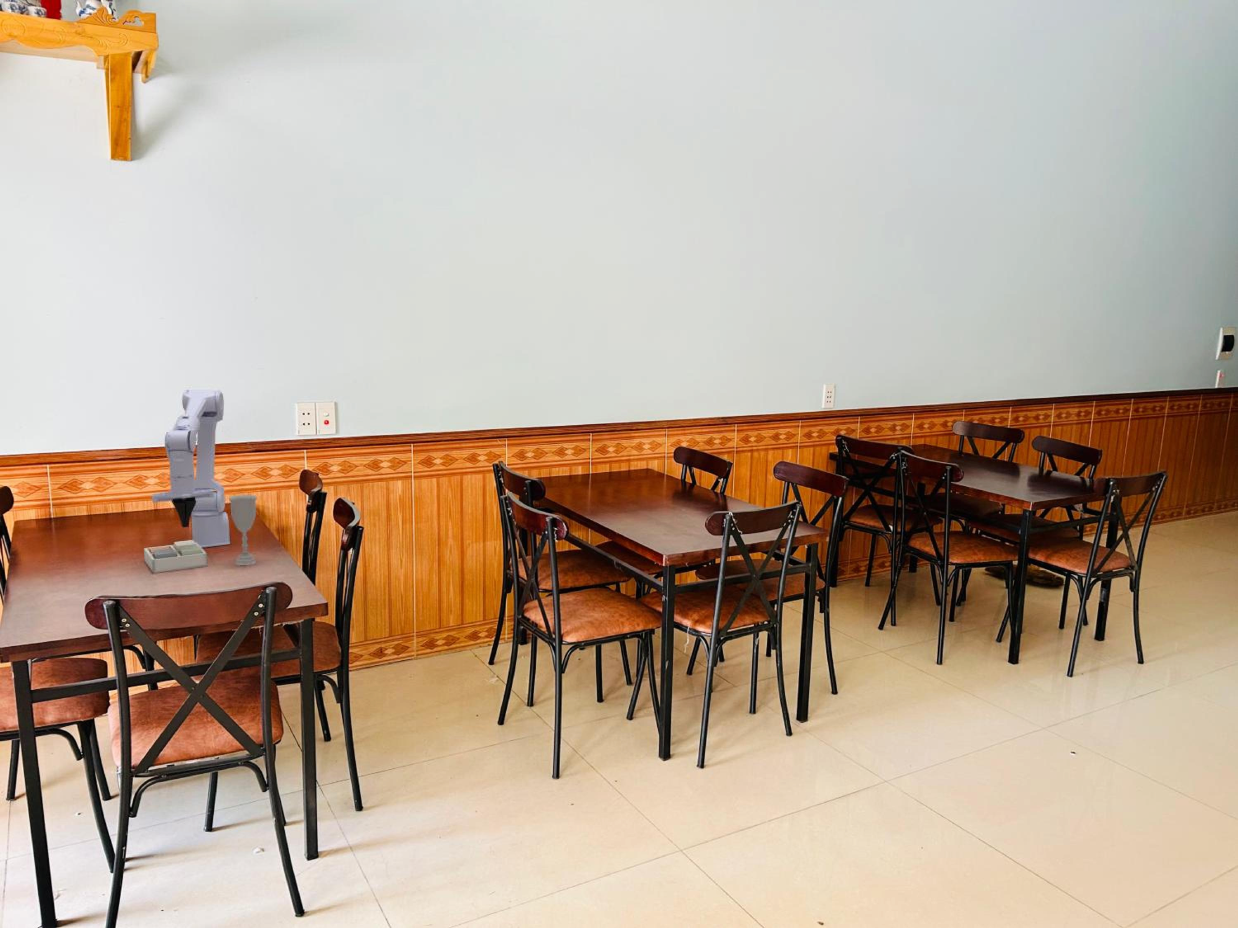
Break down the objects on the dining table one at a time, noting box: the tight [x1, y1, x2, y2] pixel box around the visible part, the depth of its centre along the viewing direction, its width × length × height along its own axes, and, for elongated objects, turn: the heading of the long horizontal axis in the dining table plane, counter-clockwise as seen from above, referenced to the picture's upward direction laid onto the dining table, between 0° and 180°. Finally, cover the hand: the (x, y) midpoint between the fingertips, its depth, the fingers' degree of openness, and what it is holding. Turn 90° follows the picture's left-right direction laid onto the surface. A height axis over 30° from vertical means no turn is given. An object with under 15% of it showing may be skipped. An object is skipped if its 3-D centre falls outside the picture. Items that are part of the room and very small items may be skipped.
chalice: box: [228, 494, 258, 566], centre depth 240 cm, size 7×7×18 cm
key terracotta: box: [148, 545, 170, 553], centre depth 240 cm, size 5×5×2 cm
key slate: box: [153, 548, 176, 559], centre depth 235 cm, size 5×5×2 cm
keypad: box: [143, 542, 208, 574], centre depth 239 cm, size 13×13×4 cm
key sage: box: [179, 545, 201, 556], centre depth 238 cm, size 5×5×2 cm
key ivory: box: [173, 539, 196, 550], centre depth 243 cm, size 5×5×2 cm
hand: (185, 526), depth 237 cm, fingers closed
